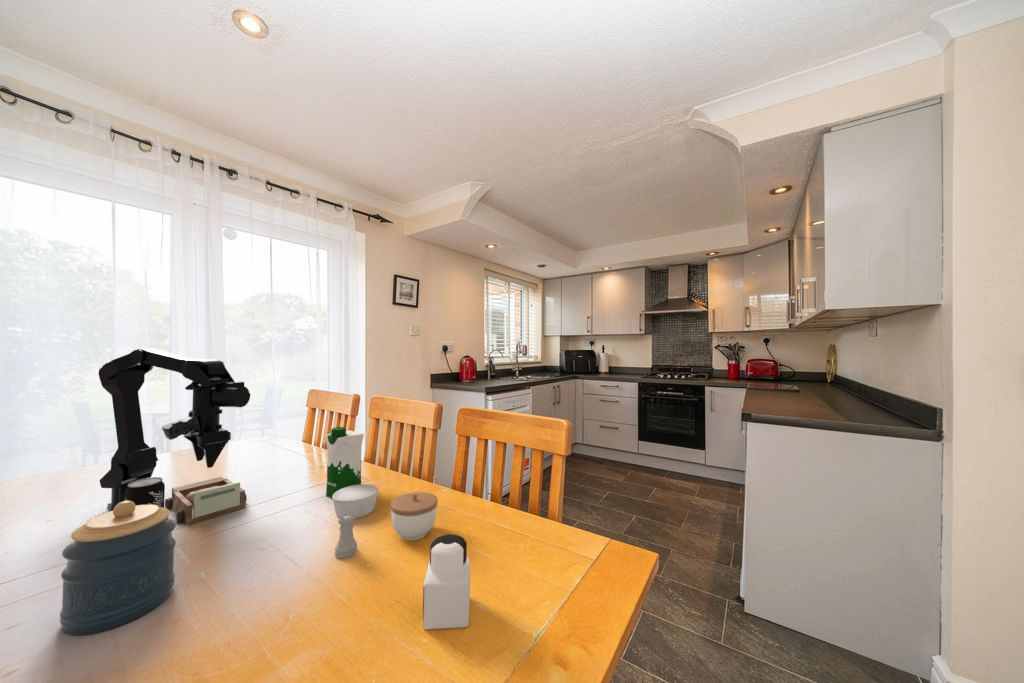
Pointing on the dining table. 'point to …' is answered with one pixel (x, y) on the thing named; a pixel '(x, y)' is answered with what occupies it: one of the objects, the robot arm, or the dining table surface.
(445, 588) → the white block figurine
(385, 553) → the dining table surface
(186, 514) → the wooden drawer box
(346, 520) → the rook chess piece
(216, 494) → the tailgate
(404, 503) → the lidded jar
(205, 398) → the robot arm
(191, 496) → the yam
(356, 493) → the ramekin
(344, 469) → the milk carton
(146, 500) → the beverage can
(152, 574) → the canister
